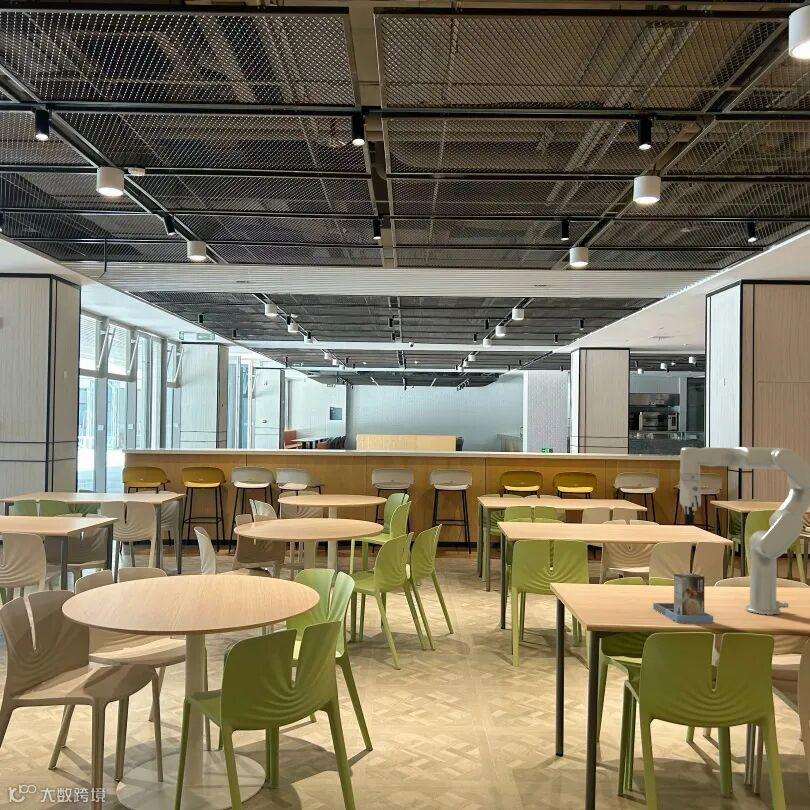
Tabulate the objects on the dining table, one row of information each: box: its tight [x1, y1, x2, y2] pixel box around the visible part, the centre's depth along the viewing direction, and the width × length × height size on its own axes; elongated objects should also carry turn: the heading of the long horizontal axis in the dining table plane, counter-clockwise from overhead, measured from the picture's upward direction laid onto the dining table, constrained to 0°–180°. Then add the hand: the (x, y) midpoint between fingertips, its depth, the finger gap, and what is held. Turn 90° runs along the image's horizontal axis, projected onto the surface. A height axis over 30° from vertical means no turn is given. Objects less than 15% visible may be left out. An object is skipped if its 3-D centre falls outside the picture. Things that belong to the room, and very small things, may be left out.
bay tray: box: [652, 602, 714, 624], centre depth 300 cm, size 14×22×2 cm, turn 5°
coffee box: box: [673, 573, 705, 616], centre depth 295 cm, size 9×6×16 cm
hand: (689, 524), depth 317 cm, fingers closed
